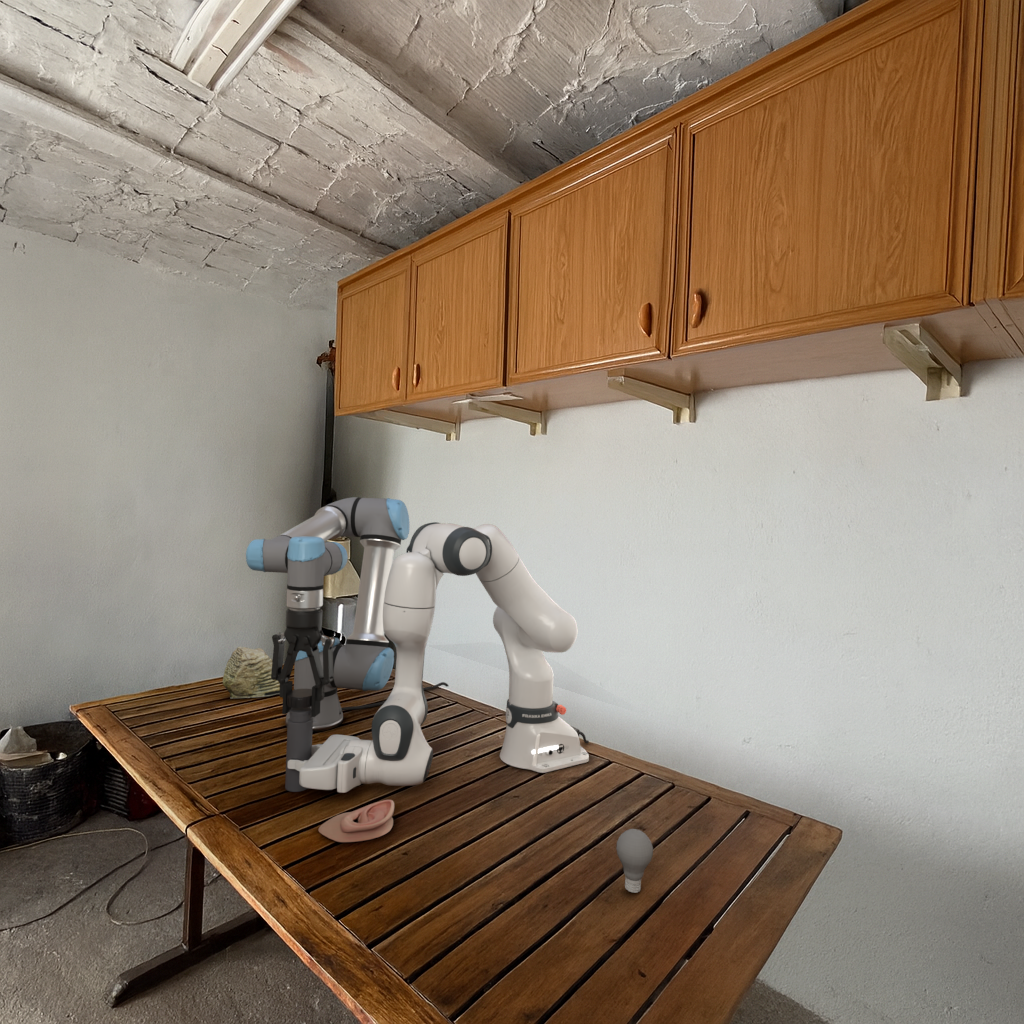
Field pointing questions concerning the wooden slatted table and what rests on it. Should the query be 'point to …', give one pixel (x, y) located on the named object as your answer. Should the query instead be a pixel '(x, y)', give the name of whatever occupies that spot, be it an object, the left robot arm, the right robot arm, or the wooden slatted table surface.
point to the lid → (299, 698)
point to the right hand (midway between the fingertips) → (294, 757)
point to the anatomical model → (360, 823)
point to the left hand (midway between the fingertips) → (301, 713)
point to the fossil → (250, 674)
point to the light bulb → (634, 857)
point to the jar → (298, 744)
